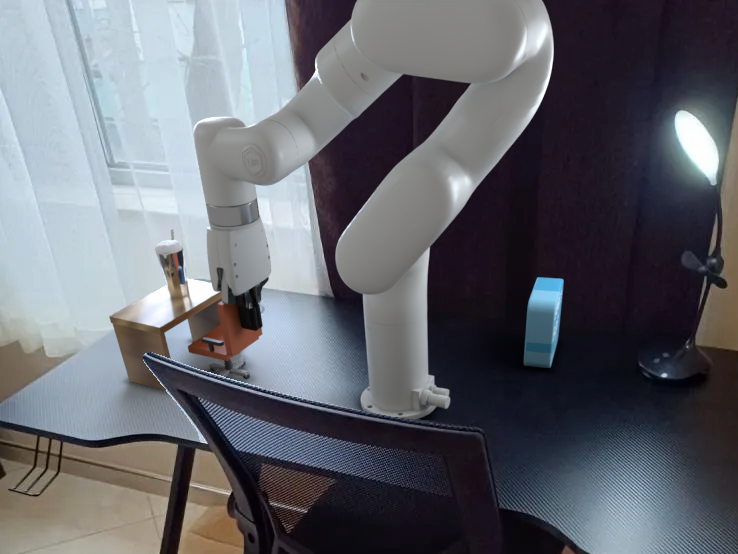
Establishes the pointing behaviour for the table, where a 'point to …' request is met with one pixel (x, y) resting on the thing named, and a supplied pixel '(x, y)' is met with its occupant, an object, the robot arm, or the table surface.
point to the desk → (162, 325)
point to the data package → (543, 322)
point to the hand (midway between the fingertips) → (252, 327)
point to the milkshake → (173, 266)
